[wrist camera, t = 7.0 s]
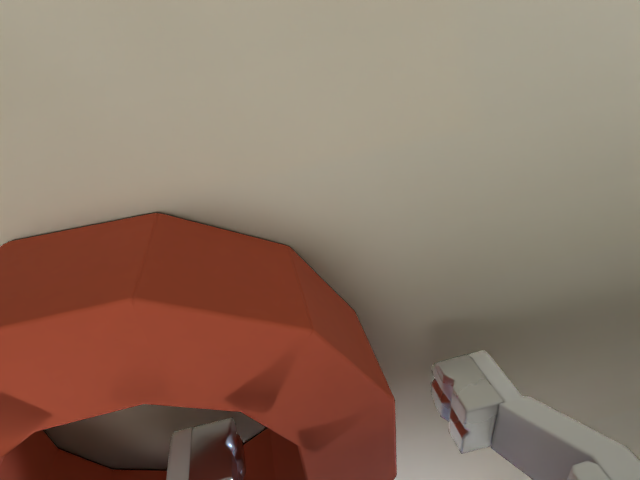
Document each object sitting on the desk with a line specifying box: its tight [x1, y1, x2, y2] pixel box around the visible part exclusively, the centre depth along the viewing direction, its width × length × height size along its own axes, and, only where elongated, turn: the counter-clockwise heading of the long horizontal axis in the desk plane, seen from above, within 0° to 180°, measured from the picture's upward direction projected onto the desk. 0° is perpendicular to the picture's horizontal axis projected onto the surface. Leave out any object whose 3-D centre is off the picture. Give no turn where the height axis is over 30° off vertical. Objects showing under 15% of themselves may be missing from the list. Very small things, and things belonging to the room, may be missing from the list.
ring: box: [0, 213, 397, 480], centre depth 10 cm, size 12×12×3 cm
